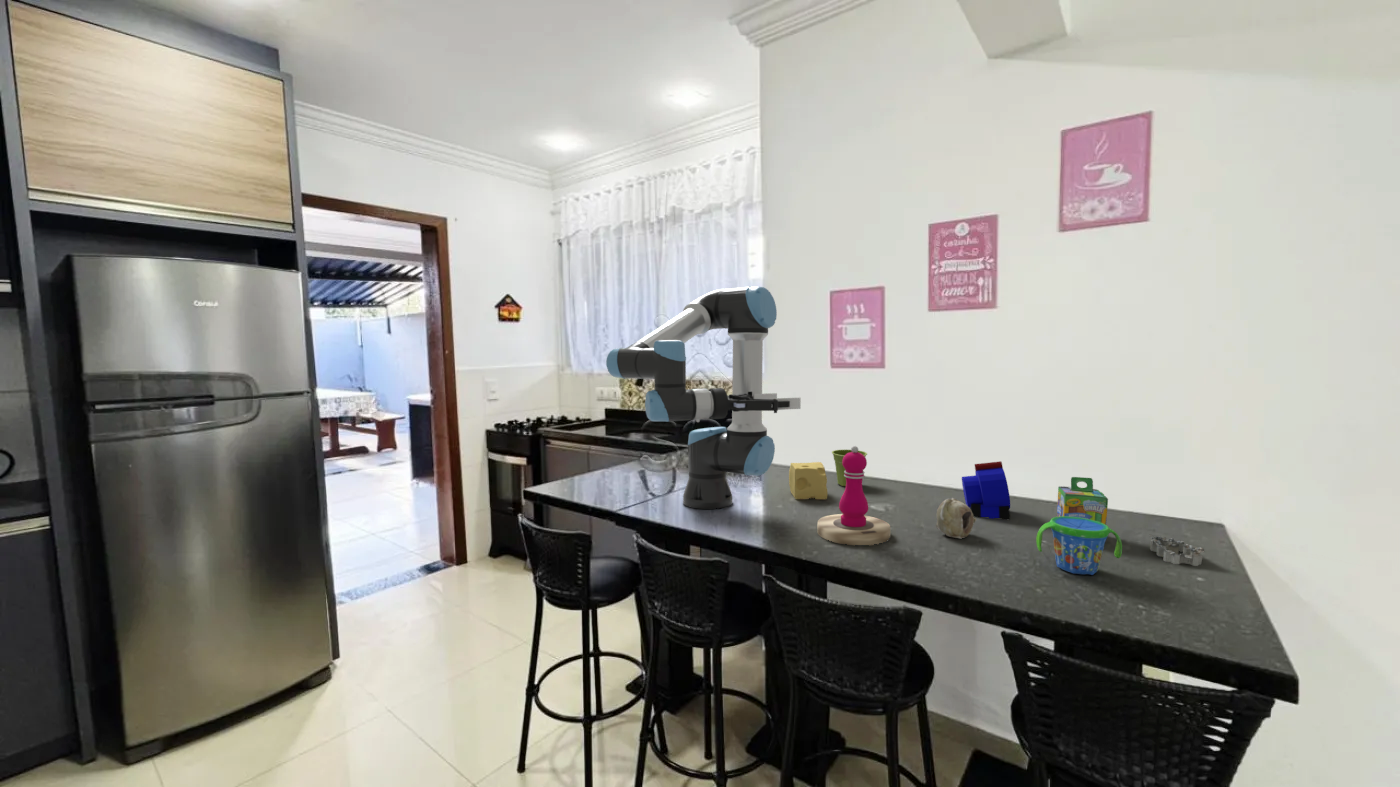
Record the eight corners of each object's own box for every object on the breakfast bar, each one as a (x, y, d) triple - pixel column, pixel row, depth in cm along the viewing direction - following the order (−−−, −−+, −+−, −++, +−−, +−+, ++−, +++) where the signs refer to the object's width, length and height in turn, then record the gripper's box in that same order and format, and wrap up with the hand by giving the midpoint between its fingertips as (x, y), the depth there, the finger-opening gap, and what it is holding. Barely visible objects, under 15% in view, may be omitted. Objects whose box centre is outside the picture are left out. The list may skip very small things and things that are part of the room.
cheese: (827, 499, 183) (828, 468, 182) (793, 500, 183) (793, 468, 182) (821, 491, 193) (821, 461, 193) (788, 491, 194) (788, 461, 193)
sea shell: (941, 546, 147) (929, 510, 146) (940, 531, 155) (928, 496, 153) (981, 539, 143) (969, 503, 142) (978, 524, 151) (966, 489, 150)
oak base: (804, 526, 156) (805, 517, 156) (864, 520, 161) (864, 511, 161) (840, 549, 139) (840, 538, 139) (905, 541, 144) (905, 530, 144)
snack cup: (1113, 565, 127) (1115, 519, 127) (1128, 584, 118) (1131, 534, 117) (1031, 556, 133) (1033, 512, 132) (1039, 573, 123) (1041, 526, 123)
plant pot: (832, 488, 197) (832, 455, 196) (830, 480, 209) (830, 449, 208) (868, 489, 195) (869, 456, 194) (864, 481, 207) (865, 449, 206)
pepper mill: (869, 528, 146) (870, 449, 144) (839, 527, 147) (840, 448, 145) (867, 520, 153) (868, 444, 151) (838, 518, 154) (839, 443, 153)
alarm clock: (1012, 520, 161) (1014, 466, 159) (963, 516, 165) (965, 463, 163) (1004, 508, 172) (1006, 457, 171) (959, 505, 176) (960, 455, 175)
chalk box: (1062, 540, 144) (1064, 480, 143) (1055, 529, 152) (1057, 473, 151) (1106, 544, 141) (1110, 484, 139) (1096, 533, 149) (1099, 475, 148)
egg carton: (1205, 568, 126) (1207, 550, 126) (1163, 564, 129) (1164, 546, 128) (1185, 552, 136) (1186, 534, 136) (1146, 548, 139) (1147, 531, 138)
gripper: (694, 413, 156) (767, 410, 163) (726, 425, 133) (810, 421, 139) (694, 385, 156) (767, 383, 162) (726, 392, 132) (811, 389, 138)
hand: (787, 400), depth 151 cm, fingers open, 13 cm apart
